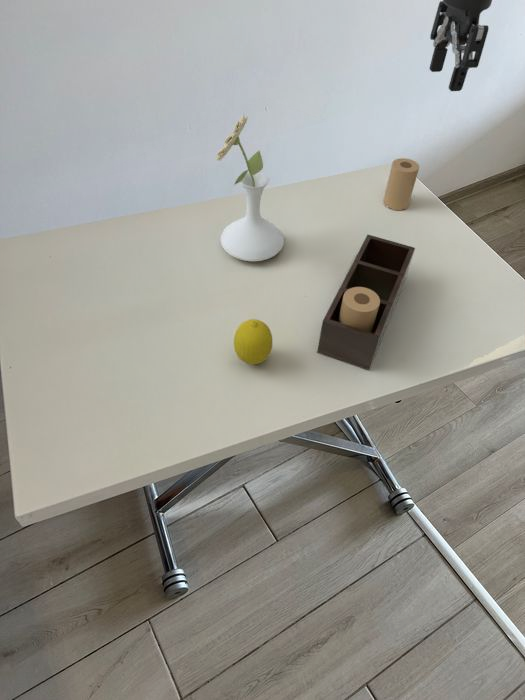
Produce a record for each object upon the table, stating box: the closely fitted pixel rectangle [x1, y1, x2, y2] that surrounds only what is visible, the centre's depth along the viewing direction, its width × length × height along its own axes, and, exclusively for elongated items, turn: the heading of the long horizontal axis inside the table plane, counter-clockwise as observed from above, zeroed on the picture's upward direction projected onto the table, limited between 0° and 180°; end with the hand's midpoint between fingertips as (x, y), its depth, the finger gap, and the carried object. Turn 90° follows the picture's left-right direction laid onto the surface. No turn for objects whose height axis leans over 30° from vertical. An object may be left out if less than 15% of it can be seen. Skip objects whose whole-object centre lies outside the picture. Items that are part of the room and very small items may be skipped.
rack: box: [316, 234, 416, 371], centre depth 84 cm, size 23×8×7 cm, turn 156°
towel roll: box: [382, 157, 420, 211], centre depth 105 cm, size 5×5×9 cm
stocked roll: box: [338, 287, 380, 333], centre depth 78 cm, size 5×5×9 cm
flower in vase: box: [216, 113, 285, 262], centre depth 87 cm, size 13×11×25 cm
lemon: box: [233, 318, 273, 365], centre depth 76 cm, size 6×6×8 cm
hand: (444, 80), depth 93 cm, fingers open, 8 cm apart
